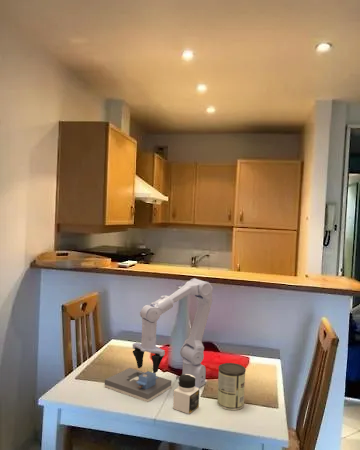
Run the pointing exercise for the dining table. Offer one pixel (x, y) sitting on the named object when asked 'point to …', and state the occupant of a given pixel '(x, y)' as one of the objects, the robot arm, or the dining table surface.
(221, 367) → the coffee can
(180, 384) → the medicine bottle
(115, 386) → the grey flat block
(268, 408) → the dining table surface
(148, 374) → the servo
